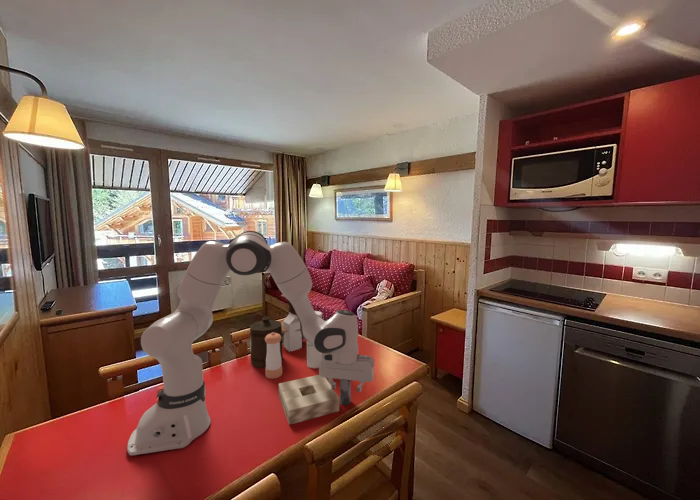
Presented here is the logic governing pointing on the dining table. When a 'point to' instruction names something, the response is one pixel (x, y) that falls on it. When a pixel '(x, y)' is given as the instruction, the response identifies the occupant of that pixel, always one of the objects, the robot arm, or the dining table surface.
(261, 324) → the wooden container
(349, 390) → the pin
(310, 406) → the socket block
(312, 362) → the cylindrical container
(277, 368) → the pepper shaker
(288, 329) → the milk carton
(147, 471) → the dining table surface
